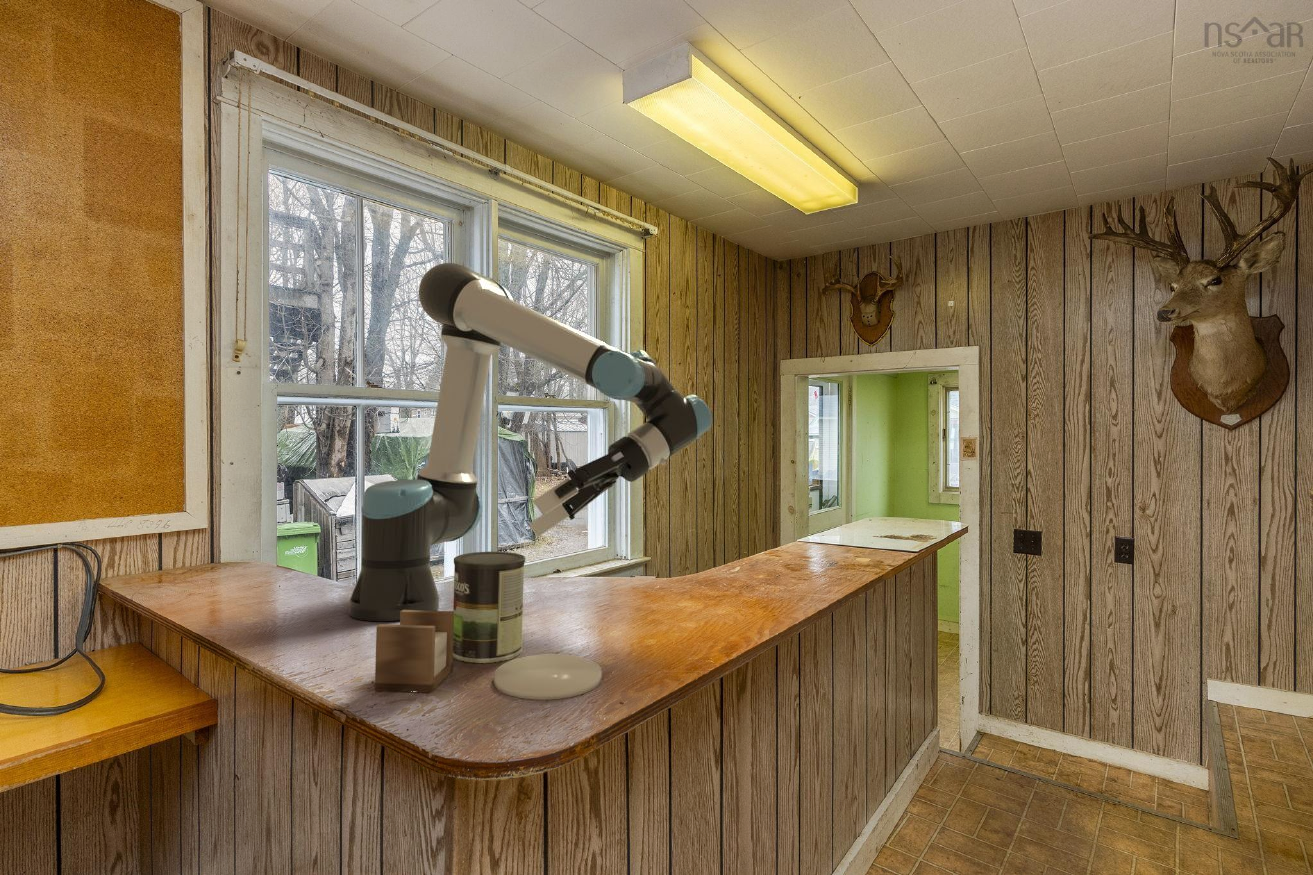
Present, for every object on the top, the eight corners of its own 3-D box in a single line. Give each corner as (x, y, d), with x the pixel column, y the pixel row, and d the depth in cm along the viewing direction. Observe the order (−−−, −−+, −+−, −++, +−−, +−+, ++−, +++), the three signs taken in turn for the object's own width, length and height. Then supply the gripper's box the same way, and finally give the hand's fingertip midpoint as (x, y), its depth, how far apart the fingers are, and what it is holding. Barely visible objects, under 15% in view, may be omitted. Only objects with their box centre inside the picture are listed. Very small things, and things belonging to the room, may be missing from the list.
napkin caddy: (374, 690, 80) (376, 626, 80) (401, 668, 88) (403, 609, 88) (430, 692, 80) (432, 628, 80) (452, 670, 88) (454, 611, 88)
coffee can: (460, 668, 89) (462, 565, 89) (444, 646, 98) (447, 553, 98) (532, 657, 94) (534, 560, 94) (511, 638, 103) (513, 549, 103)
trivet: (480, 697, 79) (480, 689, 79) (509, 659, 93) (509, 652, 93) (594, 701, 79) (595, 693, 79) (606, 662, 93) (606, 655, 93)
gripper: (667, 443, 102) (555, 517, 93) (636, 491, 124) (543, 555, 116) (638, 406, 103) (526, 476, 95) (613, 461, 126) (520, 521, 117)
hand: (535, 520), depth 105 cm, fingers open, 13 cm apart
